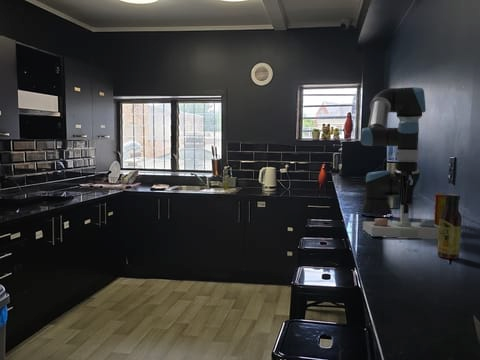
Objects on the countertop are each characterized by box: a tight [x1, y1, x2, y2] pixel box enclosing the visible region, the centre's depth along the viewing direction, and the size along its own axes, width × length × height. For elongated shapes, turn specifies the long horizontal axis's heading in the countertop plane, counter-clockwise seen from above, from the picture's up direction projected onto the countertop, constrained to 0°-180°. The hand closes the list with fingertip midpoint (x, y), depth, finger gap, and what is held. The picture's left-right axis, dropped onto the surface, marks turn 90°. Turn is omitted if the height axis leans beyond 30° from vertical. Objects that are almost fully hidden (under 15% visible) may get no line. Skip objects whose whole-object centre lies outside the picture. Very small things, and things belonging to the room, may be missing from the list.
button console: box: [362, 220, 439, 240], centre depth 174 cm, size 15×28×4 cm, turn 88°
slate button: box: [420, 218, 435, 228], centre depth 172 cm, size 5×5×3 cm
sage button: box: [397, 221, 412, 227], centre depth 172 cm, size 5×5×3 cm
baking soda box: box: [432, 192, 447, 226], centre depth 184 cm, size 10×6×16 cm
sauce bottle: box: [437, 193, 463, 260], centre depth 136 cm, size 6×6×20 cm
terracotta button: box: [373, 218, 389, 226], centre depth 172 cm, size 5×5×3 cm
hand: (404, 221), depth 172 cm, fingers closed
